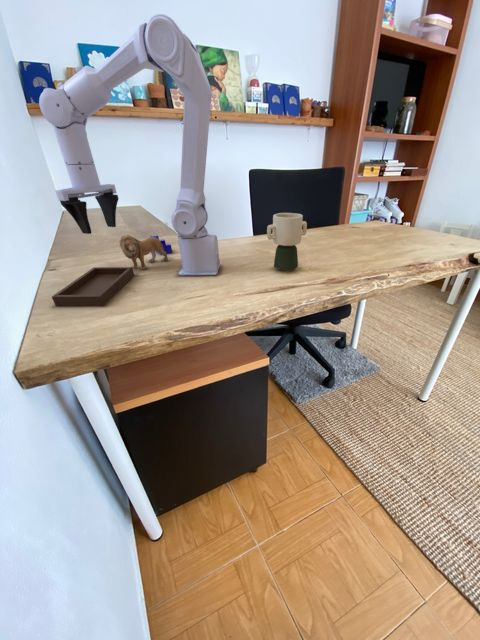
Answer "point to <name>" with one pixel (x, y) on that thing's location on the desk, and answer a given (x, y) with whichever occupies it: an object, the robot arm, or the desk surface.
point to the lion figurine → (141, 249)
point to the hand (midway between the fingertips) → (100, 229)
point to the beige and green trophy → (286, 239)
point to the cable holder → (164, 245)
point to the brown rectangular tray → (94, 287)
